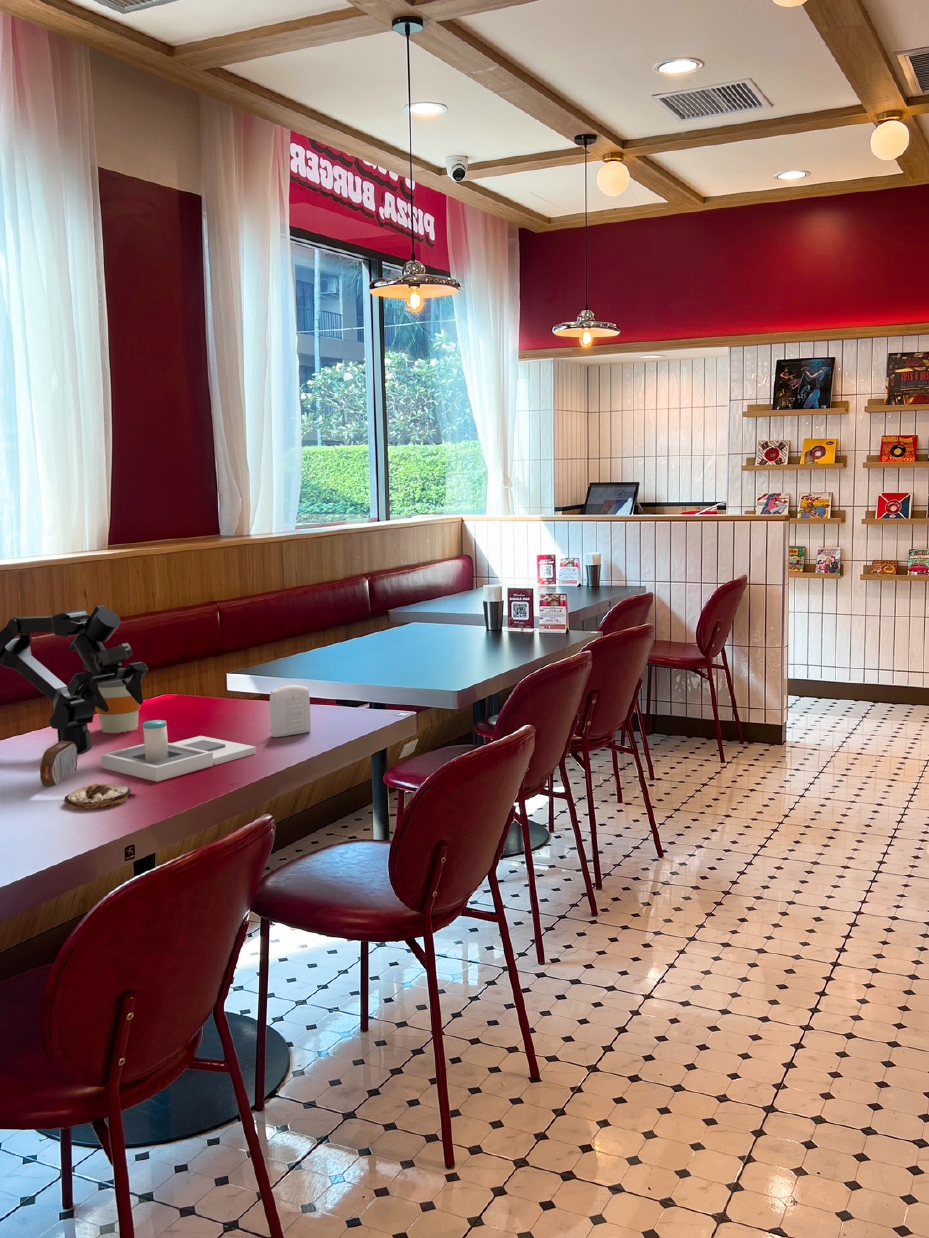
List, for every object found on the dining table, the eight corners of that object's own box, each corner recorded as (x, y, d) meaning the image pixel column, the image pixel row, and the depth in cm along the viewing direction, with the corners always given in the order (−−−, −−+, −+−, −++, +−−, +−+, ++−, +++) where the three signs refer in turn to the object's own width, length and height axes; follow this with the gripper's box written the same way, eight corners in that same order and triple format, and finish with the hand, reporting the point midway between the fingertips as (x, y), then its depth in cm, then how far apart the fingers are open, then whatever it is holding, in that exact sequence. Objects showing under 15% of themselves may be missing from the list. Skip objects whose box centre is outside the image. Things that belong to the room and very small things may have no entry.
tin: (67, 772, 247) (64, 736, 246) (81, 772, 247) (78, 735, 246) (39, 792, 232) (36, 753, 231) (54, 792, 232) (51, 753, 231)
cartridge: (142, 769, 244) (139, 725, 242) (150, 763, 249) (147, 720, 247) (165, 769, 244) (162, 725, 242) (172, 763, 248) (169, 719, 247)
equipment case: (102, 771, 247) (101, 754, 246) (201, 745, 268) (200, 729, 267) (157, 785, 234) (156, 767, 234) (256, 757, 256) (255, 740, 255)
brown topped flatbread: (100, 789, 235) (99, 770, 234) (151, 797, 228) (150, 778, 227) (43, 808, 222) (41, 788, 222) (96, 818, 215) (94, 797, 214)
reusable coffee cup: (144, 732, 284) (140, 674, 282) (92, 736, 281) (88, 678, 279) (145, 721, 296) (141, 666, 294) (96, 725, 293) (92, 670, 291)
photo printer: (306, 729, 282) (304, 681, 280) (313, 732, 278) (311, 684, 277) (268, 735, 276) (266, 687, 275) (275, 738, 273) (273, 689, 271)
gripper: (71, 638, 247) (103, 693, 242) (141, 628, 261) (173, 679, 256) (53, 669, 253) (84, 723, 248) (122, 656, 267) (153, 708, 262)
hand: (125, 707), depth 253 cm, fingers open, 9 cm apart
